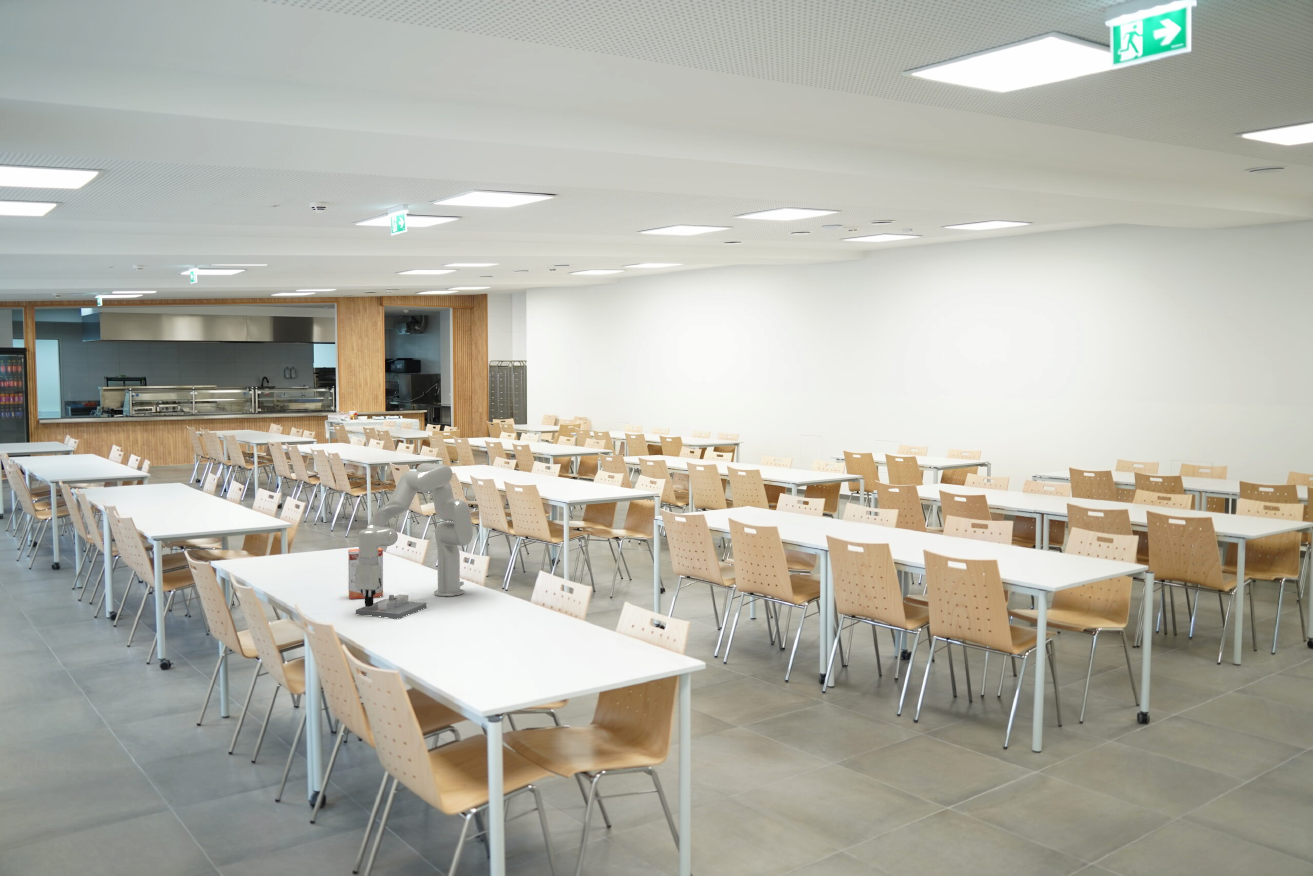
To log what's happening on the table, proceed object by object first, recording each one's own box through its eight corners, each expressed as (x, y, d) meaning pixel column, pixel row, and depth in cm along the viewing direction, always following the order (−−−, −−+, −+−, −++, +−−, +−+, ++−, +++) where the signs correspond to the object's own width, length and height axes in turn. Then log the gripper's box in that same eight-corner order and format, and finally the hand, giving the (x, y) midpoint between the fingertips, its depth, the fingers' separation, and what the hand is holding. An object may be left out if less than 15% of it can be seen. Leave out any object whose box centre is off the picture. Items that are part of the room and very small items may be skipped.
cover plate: (384, 603, 412) (384, 588, 411) (426, 607, 405) (426, 592, 405) (355, 614, 393) (355, 598, 393) (398, 619, 387) (398, 602, 386)
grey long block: (376, 610, 392) (376, 602, 392) (398, 601, 408) (398, 594, 408) (387, 611, 391) (387, 603, 391) (409, 602, 406) (409, 595, 406)
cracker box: (349, 599, 419) (349, 551, 418) (348, 596, 424) (347, 548, 423) (383, 597, 424) (383, 549, 423) (381, 594, 430) (381, 547, 428)
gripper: (346, 561, 392) (347, 606, 394) (379, 563, 388) (379, 609, 389) (358, 557, 400) (358, 602, 401) (390, 560, 395) (390, 605, 396)
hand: (369, 605), depth 395 cm, fingers closed
